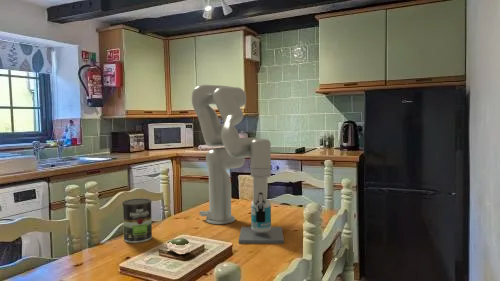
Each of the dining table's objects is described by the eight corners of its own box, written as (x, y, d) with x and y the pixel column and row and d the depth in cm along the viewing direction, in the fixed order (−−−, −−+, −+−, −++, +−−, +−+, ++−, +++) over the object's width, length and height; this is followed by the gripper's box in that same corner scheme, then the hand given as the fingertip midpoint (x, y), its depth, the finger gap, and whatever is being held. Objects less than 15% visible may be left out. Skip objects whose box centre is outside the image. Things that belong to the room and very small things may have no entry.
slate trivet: (238, 243, 132) (238, 240, 132) (241, 229, 148) (241, 226, 148) (283, 243, 131) (283, 240, 131) (281, 229, 147) (281, 226, 147)
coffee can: (155, 240, 136) (154, 202, 135) (126, 245, 131) (124, 205, 130) (149, 232, 145) (148, 197, 144) (121, 236, 140) (120, 200, 139)
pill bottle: (274, 228, 141) (273, 193, 140) (266, 234, 134) (266, 197, 133) (256, 226, 144) (255, 191, 143) (248, 231, 138) (247, 195, 137)
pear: (178, 241, 118) (160, 239, 125) (180, 258, 118) (162, 255, 125) (192, 236, 122) (174, 235, 129) (194, 252, 122) (176, 250, 129)
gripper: (251, 168, 147) (251, 212, 148) (249, 176, 129) (250, 225, 130) (270, 168, 146) (270, 212, 148) (271, 176, 129) (271, 225, 130)
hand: (260, 218), depth 139 cm, fingers closed on pill bottle, 7 cm apart
